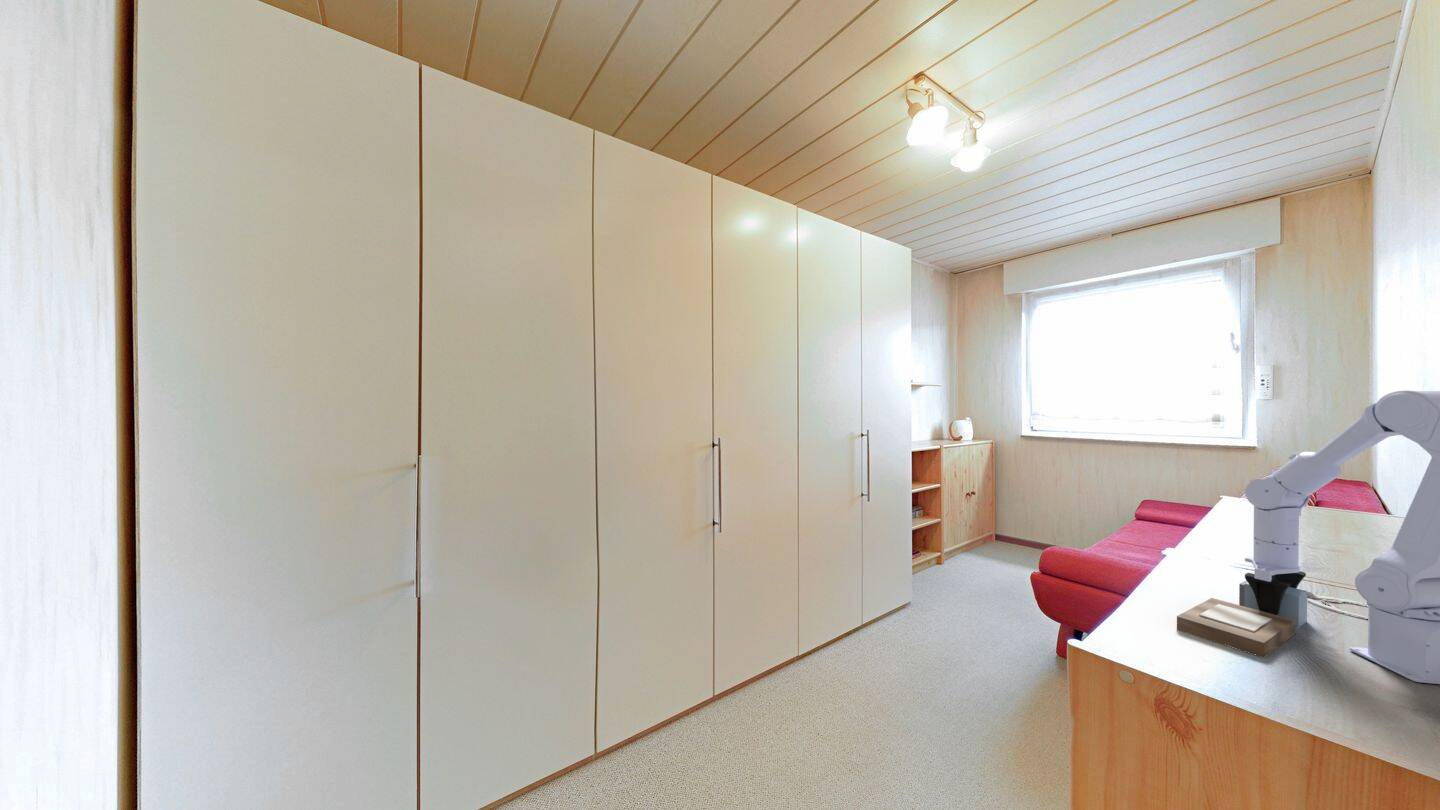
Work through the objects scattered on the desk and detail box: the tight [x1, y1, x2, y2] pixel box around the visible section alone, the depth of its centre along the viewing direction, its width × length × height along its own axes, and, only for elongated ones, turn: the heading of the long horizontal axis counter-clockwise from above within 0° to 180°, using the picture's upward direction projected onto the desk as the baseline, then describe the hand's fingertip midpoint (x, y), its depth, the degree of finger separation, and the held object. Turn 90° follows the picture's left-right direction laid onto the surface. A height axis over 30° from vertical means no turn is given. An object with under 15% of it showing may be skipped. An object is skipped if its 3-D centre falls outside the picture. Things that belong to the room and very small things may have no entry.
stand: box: [1176, 597, 1296, 658], centre depth 88 cm, size 16×11×3 cm
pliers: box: [1300, 588, 1368, 618], centre depth 100 cm, size 10×2×15 cm
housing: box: [1238, 579, 1308, 629], centre depth 93 cm, size 8×5×6 cm, turn 28°
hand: (1275, 609), depth 93 cm, fingers open, 7 cm apart
